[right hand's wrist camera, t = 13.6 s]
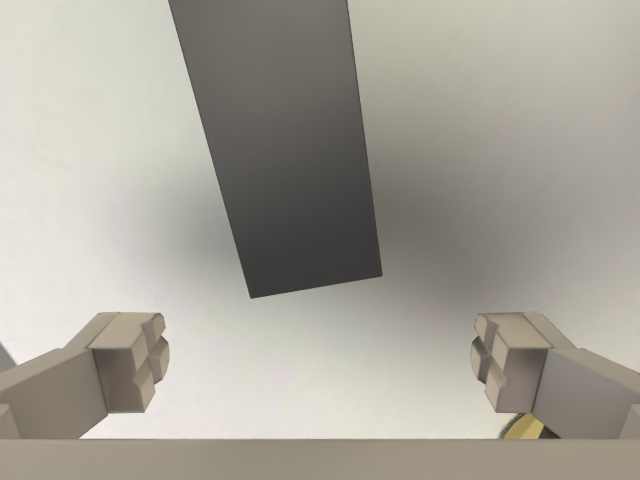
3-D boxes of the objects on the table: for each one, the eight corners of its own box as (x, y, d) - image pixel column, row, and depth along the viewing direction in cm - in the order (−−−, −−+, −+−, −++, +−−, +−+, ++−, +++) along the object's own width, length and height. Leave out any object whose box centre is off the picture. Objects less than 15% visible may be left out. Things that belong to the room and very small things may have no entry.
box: (359, 216, 27) (382, 276, 19) (267, 233, 27) (250, 299, 19) (284, -300, 18) (265, -636, 10) (146, -269, 18) (9, -572, 10)
